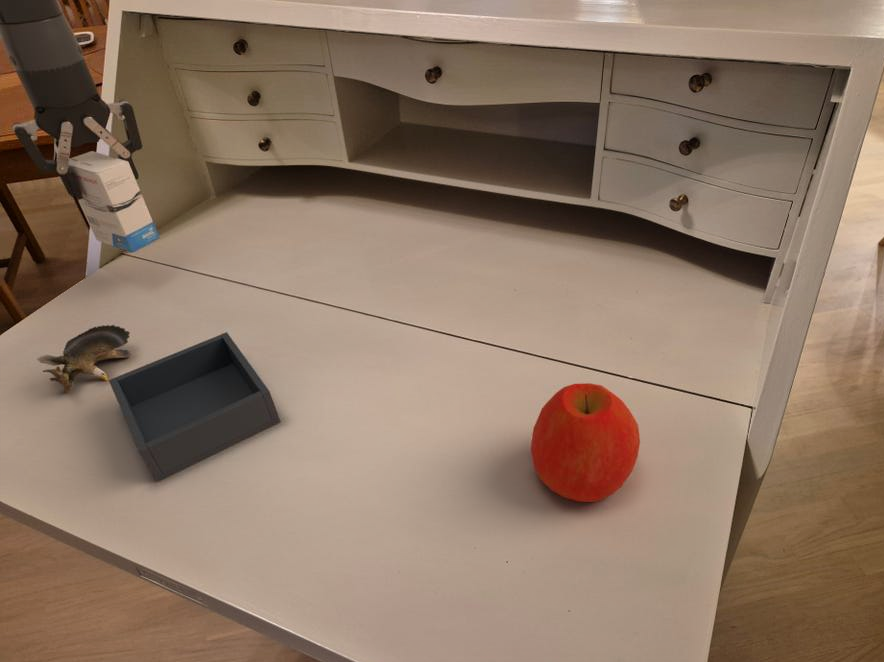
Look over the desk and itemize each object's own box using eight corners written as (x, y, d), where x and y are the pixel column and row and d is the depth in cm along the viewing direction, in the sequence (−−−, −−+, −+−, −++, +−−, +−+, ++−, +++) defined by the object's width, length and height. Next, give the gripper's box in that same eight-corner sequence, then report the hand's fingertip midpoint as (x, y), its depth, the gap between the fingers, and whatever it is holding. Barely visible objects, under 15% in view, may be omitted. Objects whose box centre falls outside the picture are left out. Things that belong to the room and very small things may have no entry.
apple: (639, 444, 66) (652, 369, 59) (626, 525, 59) (638, 449, 52) (543, 426, 69) (544, 352, 62) (519, 501, 61) (517, 426, 55)
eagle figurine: (93, 399, 74) (146, 344, 79) (37, 359, 71) (96, 303, 76) (77, 406, 79) (128, 353, 84) (25, 368, 76) (81, 316, 81)
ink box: (162, 238, 91) (129, 159, 84) (132, 254, 88) (96, 173, 81) (124, 225, 95) (90, 148, 87) (94, 240, 92) (56, 161, 84)
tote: (157, 482, 66) (139, 451, 62) (126, 410, 74) (108, 379, 71) (281, 422, 71) (269, 391, 68) (238, 361, 80) (226, 331, 77)
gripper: (105, 42, 81) (153, 167, 92) (-24, 64, 75) (44, 196, 86) (118, 53, 77) (167, 184, 87) (-18, 78, 70) (53, 216, 81)
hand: (106, 189), depth 87 cm, fingers closed on ink box, 6 cm apart
